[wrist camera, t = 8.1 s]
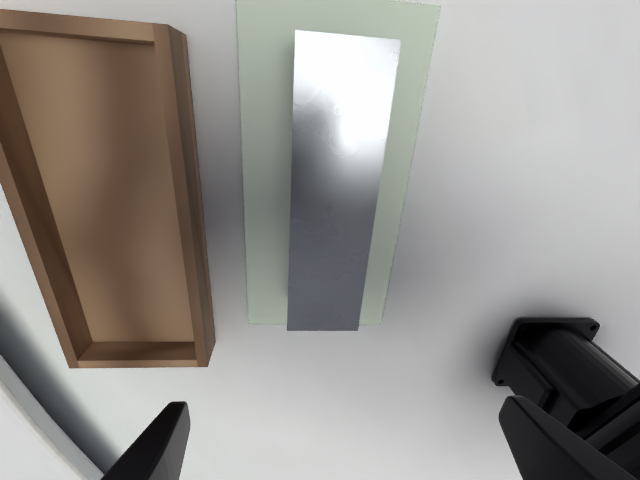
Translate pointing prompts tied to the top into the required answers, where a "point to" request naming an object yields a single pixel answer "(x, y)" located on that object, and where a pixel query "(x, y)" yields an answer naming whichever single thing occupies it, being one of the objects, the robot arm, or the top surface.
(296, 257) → the gunmetal bar
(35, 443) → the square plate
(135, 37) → the walnut slot tray
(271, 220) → the sage mat
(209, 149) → the top surface
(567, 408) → the robot arm
